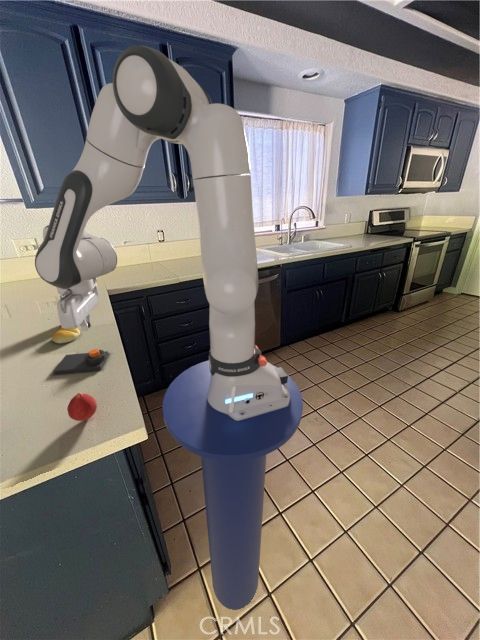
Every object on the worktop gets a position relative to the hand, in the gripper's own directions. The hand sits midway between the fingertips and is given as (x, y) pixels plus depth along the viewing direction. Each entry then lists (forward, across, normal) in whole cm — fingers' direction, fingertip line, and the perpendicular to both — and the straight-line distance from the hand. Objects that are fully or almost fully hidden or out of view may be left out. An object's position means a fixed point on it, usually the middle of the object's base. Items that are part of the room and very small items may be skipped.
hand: (86, 328), depth 79 cm
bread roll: (+12, +19, +16) cm, 28 cm away
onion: (+12, -25, -5) cm, 28 cm away
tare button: (+10, 0, 0) cm, 10 cm away
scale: (+12, 0, +4) cm, 13 cm away
